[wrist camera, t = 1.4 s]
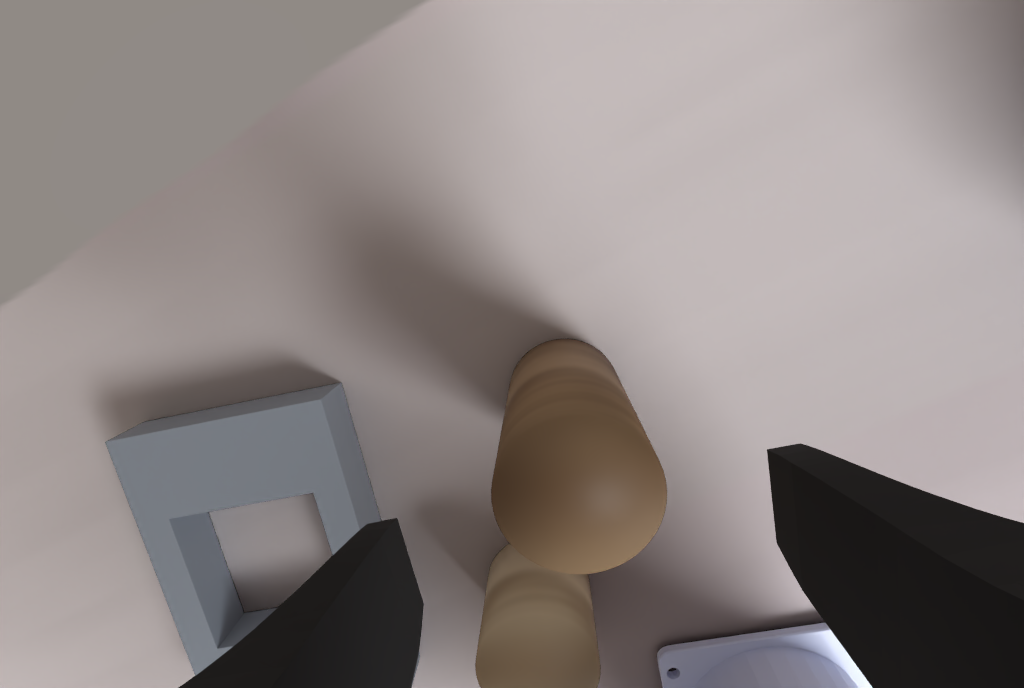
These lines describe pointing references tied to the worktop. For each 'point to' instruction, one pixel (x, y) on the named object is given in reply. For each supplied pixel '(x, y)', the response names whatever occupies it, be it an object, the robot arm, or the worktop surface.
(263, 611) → the board
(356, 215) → the worktop surface
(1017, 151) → the worktop surface
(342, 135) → the worktop surface
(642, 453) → the long dowel
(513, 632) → the short dowel
